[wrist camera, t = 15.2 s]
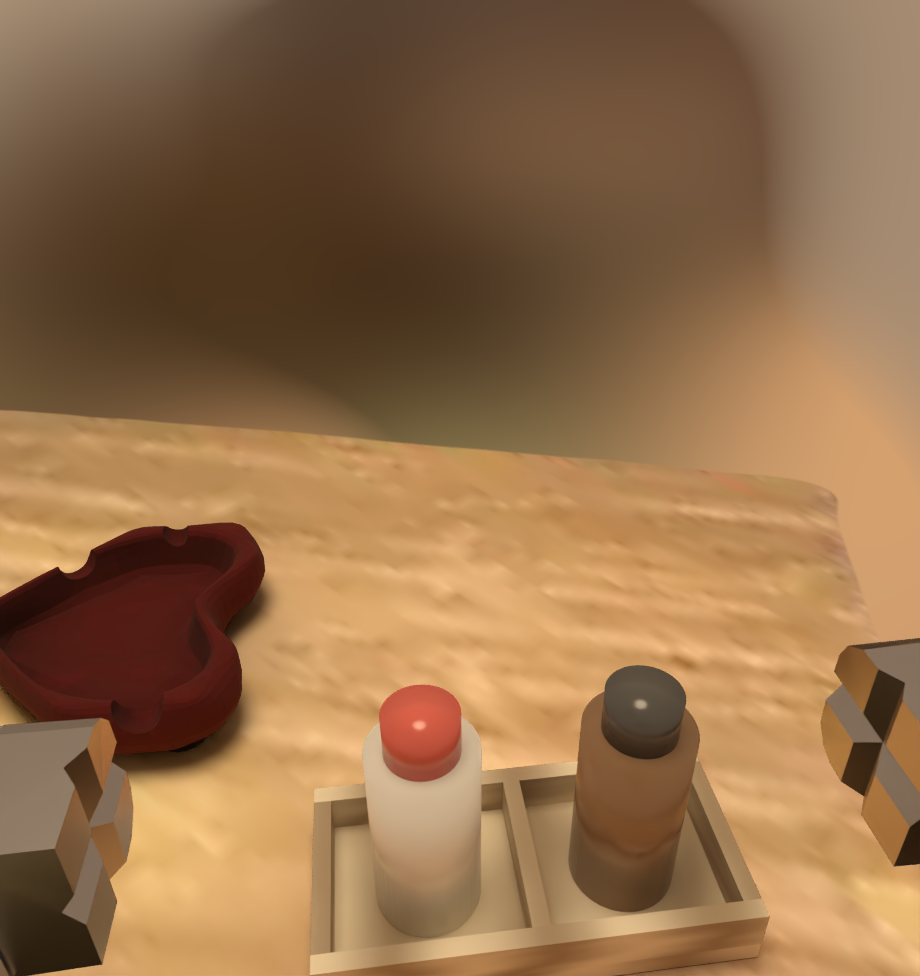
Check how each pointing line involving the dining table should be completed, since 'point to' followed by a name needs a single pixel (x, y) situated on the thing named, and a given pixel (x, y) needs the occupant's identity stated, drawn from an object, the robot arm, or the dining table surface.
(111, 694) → the ashtray
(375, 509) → the dining table surface
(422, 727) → the white shaker
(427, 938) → the caddy
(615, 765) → the brown soy bottle
